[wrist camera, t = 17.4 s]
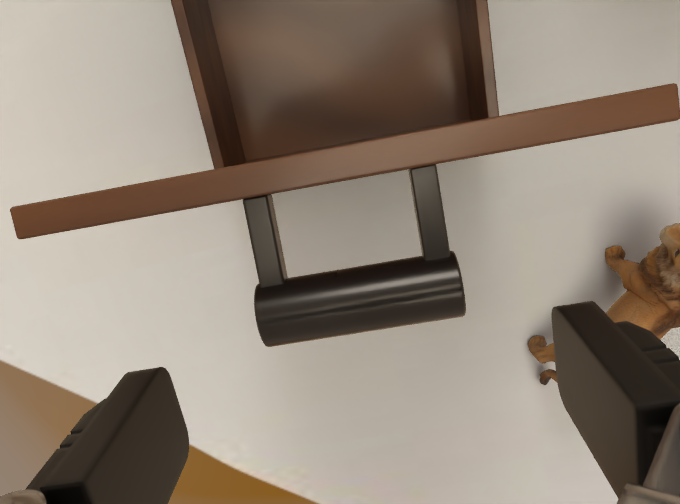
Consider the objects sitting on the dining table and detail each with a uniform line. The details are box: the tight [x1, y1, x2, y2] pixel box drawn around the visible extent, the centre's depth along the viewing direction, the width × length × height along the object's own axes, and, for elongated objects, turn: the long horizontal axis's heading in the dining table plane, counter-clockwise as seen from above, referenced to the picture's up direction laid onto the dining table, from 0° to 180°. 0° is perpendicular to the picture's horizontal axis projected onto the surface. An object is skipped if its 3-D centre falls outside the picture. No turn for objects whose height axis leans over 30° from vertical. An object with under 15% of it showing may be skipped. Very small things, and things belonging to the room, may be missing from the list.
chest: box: [171, 0, 499, 169], centre depth 32 cm, size 17×16×6 cm
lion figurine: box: [528, 223, 680, 385], centre depth 36 cm, size 15×5×9 cm, turn 155°
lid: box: [10, 83, 680, 347], centre depth 22 cm, size 18×16×5 cm
